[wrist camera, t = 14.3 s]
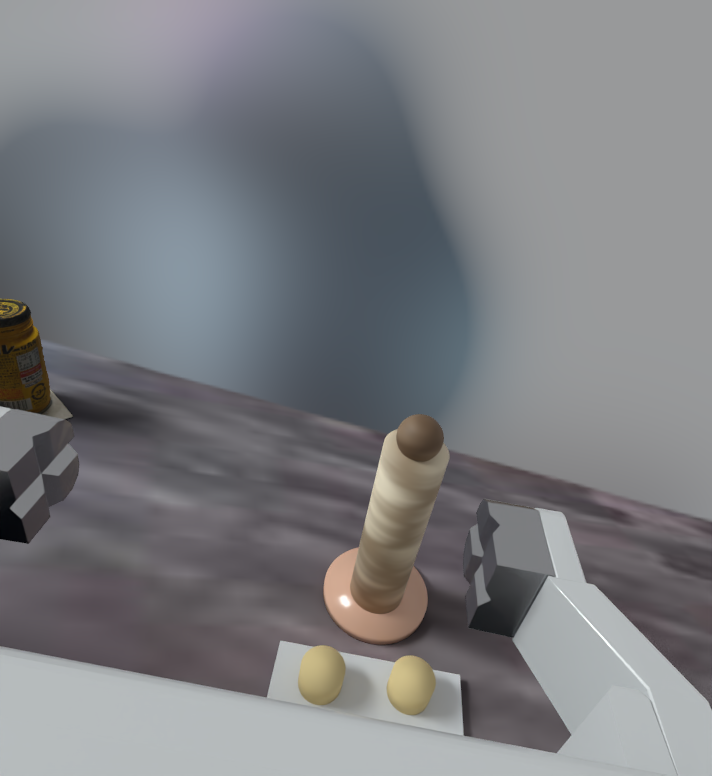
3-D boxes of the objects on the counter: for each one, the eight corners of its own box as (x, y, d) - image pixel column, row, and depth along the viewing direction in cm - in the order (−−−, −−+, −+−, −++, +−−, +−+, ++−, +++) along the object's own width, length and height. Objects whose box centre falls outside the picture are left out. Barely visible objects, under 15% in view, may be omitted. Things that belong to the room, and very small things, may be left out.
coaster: (314, 633, 42) (316, 627, 41) (331, 544, 49) (332, 538, 49) (426, 654, 42) (428, 648, 41) (425, 562, 49) (427, 556, 49)
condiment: (43, 381, 63) (24, 289, 56) (73, 417, 58) (56, 321, 52) (-28, 401, 58) (-58, 302, 52) (-1, 441, 54) (-31, 339, 47)
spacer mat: (207, 937, 27) (207, 924, 26) (278, 644, 40) (281, 625, 39) (477, 989, 27) (492, 979, 26) (459, 679, 40) (468, 661, 39)
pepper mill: (346, 608, 43) (388, 434, 33) (353, 562, 47) (392, 393, 37) (401, 618, 43) (461, 448, 33) (403, 572, 47) (457, 406, 37)
